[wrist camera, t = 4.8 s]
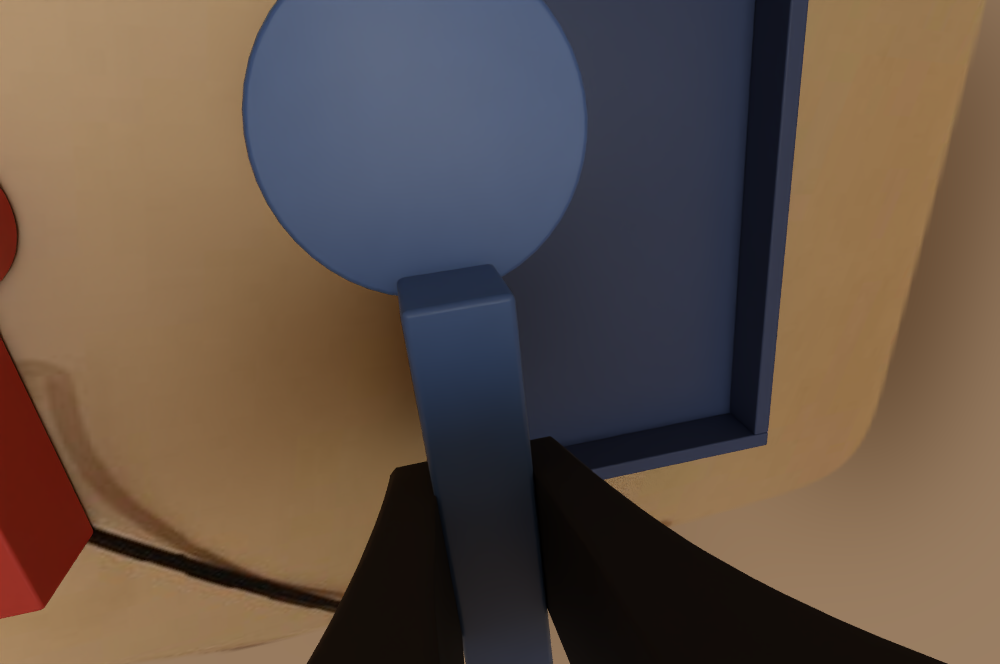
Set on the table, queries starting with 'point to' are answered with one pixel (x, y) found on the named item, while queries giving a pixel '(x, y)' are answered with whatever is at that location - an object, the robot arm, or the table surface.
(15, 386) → the red spoon
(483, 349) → the blue spoon
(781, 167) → the blue tray
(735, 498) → the table surface
